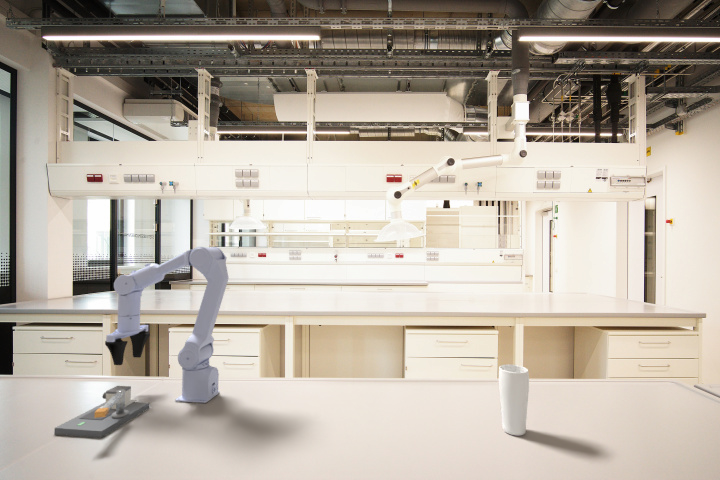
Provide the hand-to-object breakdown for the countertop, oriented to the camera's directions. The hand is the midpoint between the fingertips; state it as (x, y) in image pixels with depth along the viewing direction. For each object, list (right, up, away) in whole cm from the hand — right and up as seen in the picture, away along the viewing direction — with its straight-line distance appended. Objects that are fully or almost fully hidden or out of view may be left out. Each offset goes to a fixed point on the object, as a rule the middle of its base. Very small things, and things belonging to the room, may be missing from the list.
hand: (128, 360), depth 110 cm
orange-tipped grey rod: (+10, -7, -23) cm, 26 cm away
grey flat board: (+5, -10, -17) cm, 20 cm away
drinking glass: (+106, -10, -21) cm, 109 cm away
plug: (+4, -8, -11) cm, 14 cm away
